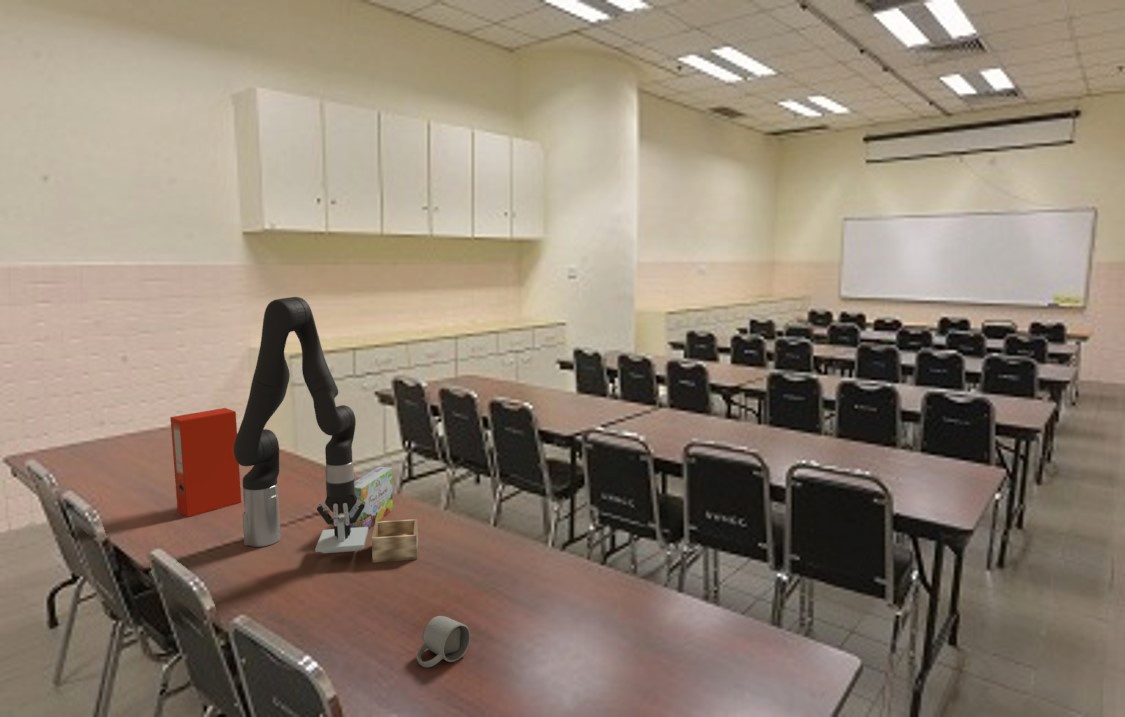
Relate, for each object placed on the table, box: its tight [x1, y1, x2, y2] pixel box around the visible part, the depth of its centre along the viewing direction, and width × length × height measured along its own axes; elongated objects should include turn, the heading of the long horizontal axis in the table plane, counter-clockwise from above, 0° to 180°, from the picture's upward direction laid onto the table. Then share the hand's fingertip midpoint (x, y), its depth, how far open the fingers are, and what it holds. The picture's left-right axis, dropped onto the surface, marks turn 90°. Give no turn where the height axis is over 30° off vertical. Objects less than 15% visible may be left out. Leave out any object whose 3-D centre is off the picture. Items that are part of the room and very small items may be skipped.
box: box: [371, 518, 419, 564], centre depth 192 cm, size 12×12×7 cm
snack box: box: [350, 466, 394, 530], centre depth 213 cm, size 21×6×15 cm, turn 168°
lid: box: [315, 514, 369, 554], centre depth 188 cm, size 13×13×8 cm
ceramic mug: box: [416, 615, 471, 669], centre depth 142 cm, size 11×8×8 cm
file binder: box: [169, 407, 242, 518], centre depth 222 cm, size 8×17×32 cm, turn 141°
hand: (342, 536), depth 188 cm, fingers closed on lid, 1 cm apart
